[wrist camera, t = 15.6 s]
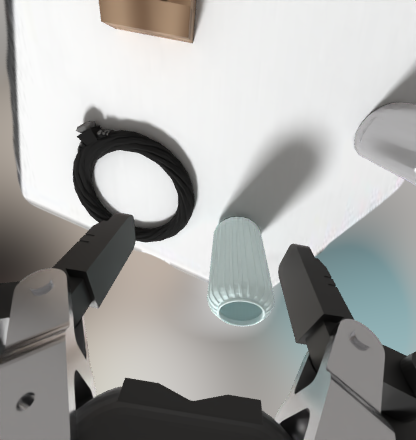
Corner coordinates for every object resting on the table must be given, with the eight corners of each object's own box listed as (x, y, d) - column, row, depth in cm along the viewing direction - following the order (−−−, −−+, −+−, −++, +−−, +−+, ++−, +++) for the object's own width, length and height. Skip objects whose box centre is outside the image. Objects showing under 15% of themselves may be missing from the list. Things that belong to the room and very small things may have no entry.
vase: (238, 253, 54) (243, 338, 36) (205, 232, 51) (192, 314, 33) (269, 228, 48) (293, 314, 30) (234, 203, 45) (237, 282, 27)
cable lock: (122, 255, 54) (29, 155, 39) (128, 246, 57) (44, 150, 42) (212, 228, 46) (138, 88, 31) (214, 219, 49) (146, 87, 34)
